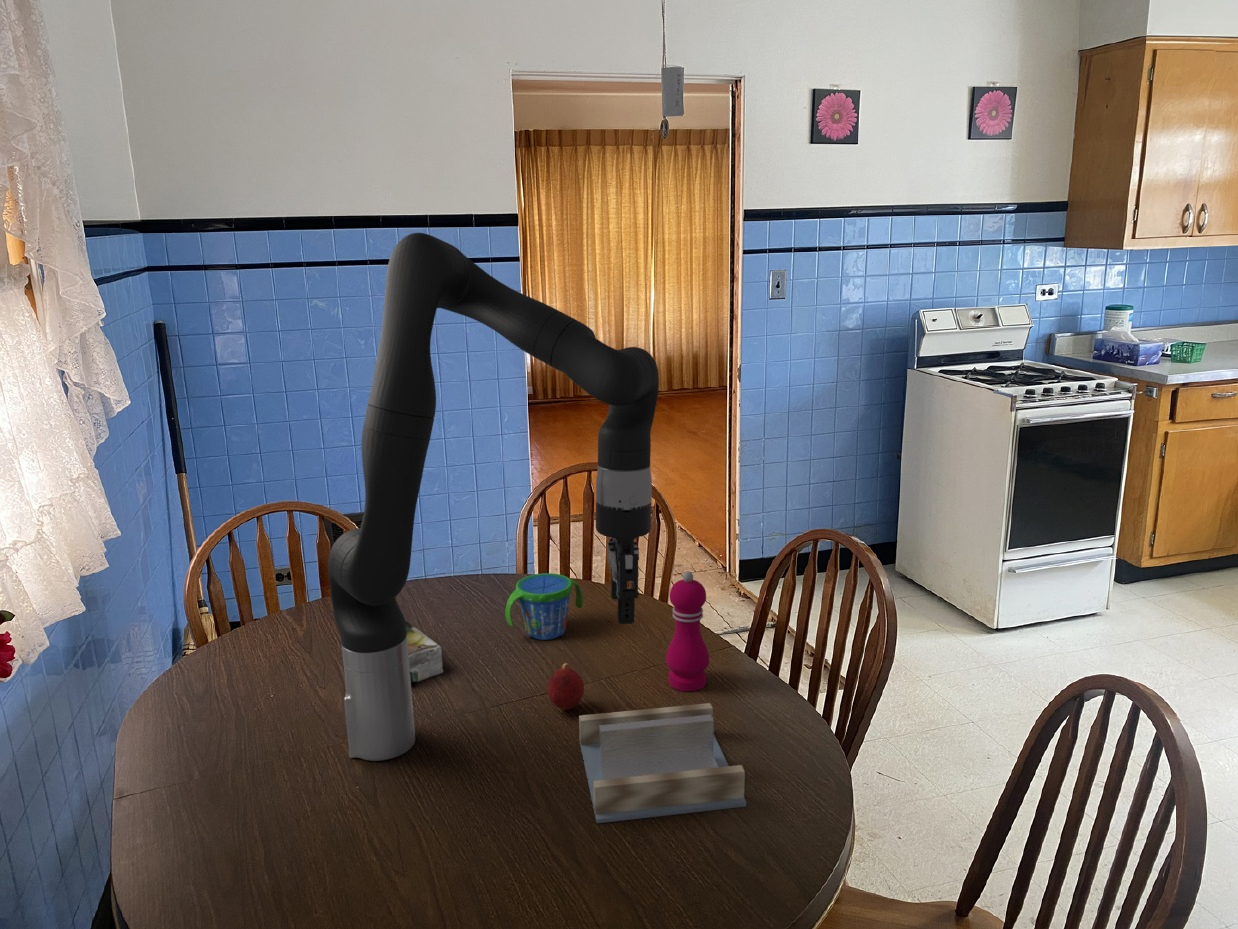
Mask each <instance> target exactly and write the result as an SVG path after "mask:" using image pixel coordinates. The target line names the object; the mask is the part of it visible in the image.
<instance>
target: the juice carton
mask: <svg viewBox="0 0 1238 929" xmlns="http://www.w3.org/2000/svg"><path fill="white" fill-rule="evenodd" d="M405 622H406V632H407V644H408V656H409V668H410V680H411V683H416V682H417V683H419V682H422V681H423V680H426V679H428V678H431V677H434V676H437V675H441V674H443V673H444V669H443V657H442V647H441V645H439V644H438V642H435V641H434V640H433V639H432V638H430V637H429V636H427V635H426V634H425V633H424V632H422V631H420V630H419V629H418V628H417V627H415V626H414V625H412V624H411V623H410V622H408V621H406V620H405Z"/></svg>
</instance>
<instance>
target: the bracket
mask: <svg viewBox="0 0 1238 929" xmlns="http://www.w3.org/2000/svg"><path fill="white" fill-rule="evenodd" d="M714 723H715V721H714V717H713V718H712V716H711V715H701V716H690V717H680V718H670V719H660V720H649V721H639V722H629V723H619V724H609V725H599V738H600V770H601V774H602V778H603V780H606V779H615V778H625V777H634V776H643V775H653V774H662V773H671V772H681V771H690V770H699V769H709V768H718V765H717V763H716V761H715V758H714V756H713V738H714V736H715V734H714V730H715V727H714V726H715V724H714Z"/></svg>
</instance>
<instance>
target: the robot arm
mask: <svg viewBox="0 0 1238 929" xmlns="http://www.w3.org/2000/svg"><path fill="white" fill-rule="evenodd" d="M384 289H385V292H384V299H383V300H384V302H383V314H382V326H381V331H380V332H381V333H380V339H379V345H378V350H377V355H376V359H375V366H374V373H373V377H372V382H371V383H372V384H371V388H370V392H369V395H368V400H367V405H366V411H365V416H364V420H363V421H364V422H363V426H362V432H361V443H360V444H361V458H362V460H361V461H362V462H361V463H362V470H363V473H362V474H363V481H364V491H365V492H364V494H365V496H364V499H365V500H364V509H363V515H362V520H361V526H360V528H353V529H350V530H348V531H346V532H344V533H343V534H341V535H340V536H339V537H337V539H336V540H335V541H334V543H333V545H332V546H331V549H330V551H329V553H328V560H327V573H328V574H327V575H328V583H329V591H330V598H331V606H332V613H333V617H334V620H335V624H336V627H337V630H338V632H339V636H340V643H341V644H340V645H341V652H342V664H343V673H344V682H345V694H344V698H343V703H344V704H343V705H344V714H345V722H346V733H347V734H346V735H347V740H348V741H347V742H348V743H347V744H348V754H349V758H350V759H352V758H353V759H354V758H359V759H362V760H365V761H370V762H371V761H373V762H376V761H377V762H378V761H386V760H390V759H394V758H397V757H400V756H401V755H403V754H405V753H407V752H408V751H409V750H410V749H411V748H412V747H413V746H414V745H415V742H416V732H415V728H416V727H415V719H414V707H413V694H412V682H411V680H410V668H409V656H408V644H407V632H406V622H405V621H406V618H405V616H404V613H403V612H402V610H401V608H400V606H399V604H398V601H397V598H396V597H397V596H398V595H399V594H400V592H401V591H402V590H403V588H404V587H405V585H406V582H407V580H408V577H409V573H410V569H411V568H410V566H411V560H412V558H411V557H412V548H413V536H414V535H413V534H414V524H415V518H416V517H415V515H416V508H417V503H418V498H419V493H420V490H421V484H422V481H423V480H422V479H423V474H424V468H425V462H426V458H427V455H428V454H427V453H428V449H429V444H430V441H431V438H432V431H433V426H434V422H435V417H436V407H437V390H436V384H435V375H434V370H433V365H432V357H431V343H432V342H431V340H432V332H433V326H434V324H435V323H434V322H435V318H436V313H437V309H443V310H445V311H449V312H453V313H455V314H459V315H461V316H465V317H467V318H470V319H472V320H474V321H477V322H479V323H481V324H482V325H484V326H487V327H489V328H490V329H491V330H493V331H495V332H497V334H499V335H501V336H502V337H503V338H505V340H507V341H509V342H510V343H511V344H513V345H514V346H515V347H517V348H519V349H520V350H521V351H523V352H525V353H526V354H528V355H529V356H531V357H533V358H535V359H536V360H538V361H540V362H542V363H544V364H546V365H548V366H550V367H551V368H553V369H555V370H557V371H560V372H562V373H563V374H565V375H566V376H567V377H568V378H569V380H571V381H572V382H573V383H574V384H576V385H577V386H578V387H580V388H581V389H582V390H583V391H585V392H586V393H587V394H589V395H590V396H591V397H593V398H594V399H596V400H598V401H600V402H602V403H604V404H607V405H608V411H607V416H606V419H605V421H604V422H603V423H602V424H601V426H600V428H599V429H598V436H597V472H596V478H595V530H596V532H597V533H598V534H599V535H602V536H604V537H607V538H609V539H608V540H609V541H607V546H606V547H607V564H608V566H609V569H608V570H609V572H610V573H611V574H610V575H611V576H610V581H611V582H610V584H611V585H610V594H611V595H610V596H611V598H612V600H617V612H616V613H617V614H616V615H617V616H616V617H617V623H618V624H620V625H631V624H633V623H635V608H636V607H635V601H636V600H635V599H638V598H639V595H640V593H639V577H640V576H639V575H640V574H639V561H640V549H639V548H640V547H639V546H638V545H637V538H640V537H644V536H646V535H648V534H649V533H650V532H651V530H652V503H653V502H652V501H653V500H652V497H653V496H652V492H653V489H652V488H653V480H652V474H651V473H652V472H651V452H652V451H651V448H652V447H651V445H652V442H651V432H652V426H653V423H654V418H655V415H656V414H655V413H656V407H657V402H658V396H659V387H660V376H659V375H660V374H659V369H658V364H657V363H656V360H655V359H654V357H653V356H652V355H651V354H650V353H649V351H647V350H646V349H644V348H642V347H637V346H629V347H624V348H621V349H620V348H619V349H616V348H614V347H612V346H609V345H608V344H606V343H604V342H602V341H601V340H599V339H598V338H596V334H595V333H594V331H593V330H592V329H591V328H590V327H589V326H588V325H586V324H585V323H583V322H581V321H579V320H577V319H575V318H574V317H572V316H570V315H568V314H566V313H564V312H562V311H560V310H558V309H556V308H554V307H553V306H551V305H548V304H546V303H545V302H542V301H540V300H537V299H536V298H532V297H530V296H528V295H525V294H524V293H521V292H519V291H517V290H515V289H514V288H511V287H510V286H507V285H506V284H505V283H502V282H501V281H499V280H498V279H496V278H495V277H494V276H492V275H491V274H489V273H488V272H486V271H485V270H484V269H482V268H481V267H480V266H478V265H477V264H476V263H475V262H473V261H472V260H471V259H470V258H469V257H467V256H466V254H464V253H463V252H461V251H460V249H459V248H457V247H456V246H454V245H452V244H450V243H449V242H446V241H444V240H442V239H441V238H437V237H436V236H434V235H432V234H427V233H423V232H412V233H410V234H408V235H406V236H404V237H403V238H402V239H400V240H399V241H398V242H397V244H396V245H395V246H394V248H393V250H392V251H391V254H390V257H389V260H388V264H387V271H386V277H385V288H384ZM628 582H630V586H631V588H628Z"/></svg>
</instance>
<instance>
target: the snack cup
mask: <svg viewBox="0 0 1238 929" xmlns="http://www.w3.org/2000/svg"><path fill="white" fill-rule="evenodd" d="M573 585H574V588H575V589H574V590H575V607H577V608H578V609H582V608H583V607H584V594H583V590H582V588H581V586H580V584H578V583H577V582H576V581H574V580H572V578H569V577H567V576H566V575H563V574H559V573H554V572H552V573H548V572H546V573H543V572H542V573H535V574H531V575H527V576H525V577H522V578H520V579H519V580H518V581H517V583H516V585H515V589H514V591H513V592H512V593H511V594H510V595H509V598H508V599H507V601H506V606H505V611H504V612H505V613H504V614H505V615H504V616H505V619H506V623H507V624H508V626H510V627H514V622H513V617H512V608H513V605H514V604H515V603H516V601H517V600H518V601H519V604H520V609H521V614H522V618H523V622H524V623H523V624H524V626H525V627H524V628H525V631H526V633H527V635H528V637H530V638H533V639H536V640H540V641H542V640H543V641H549V640H553V639H556V638H558V637H562V636H563V635H564V634H565V632H566V630H567V624H568V615H569V614H568V613H569V605H570V597H571V596H570V594H571V592H572V590H573Z"/></svg>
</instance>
